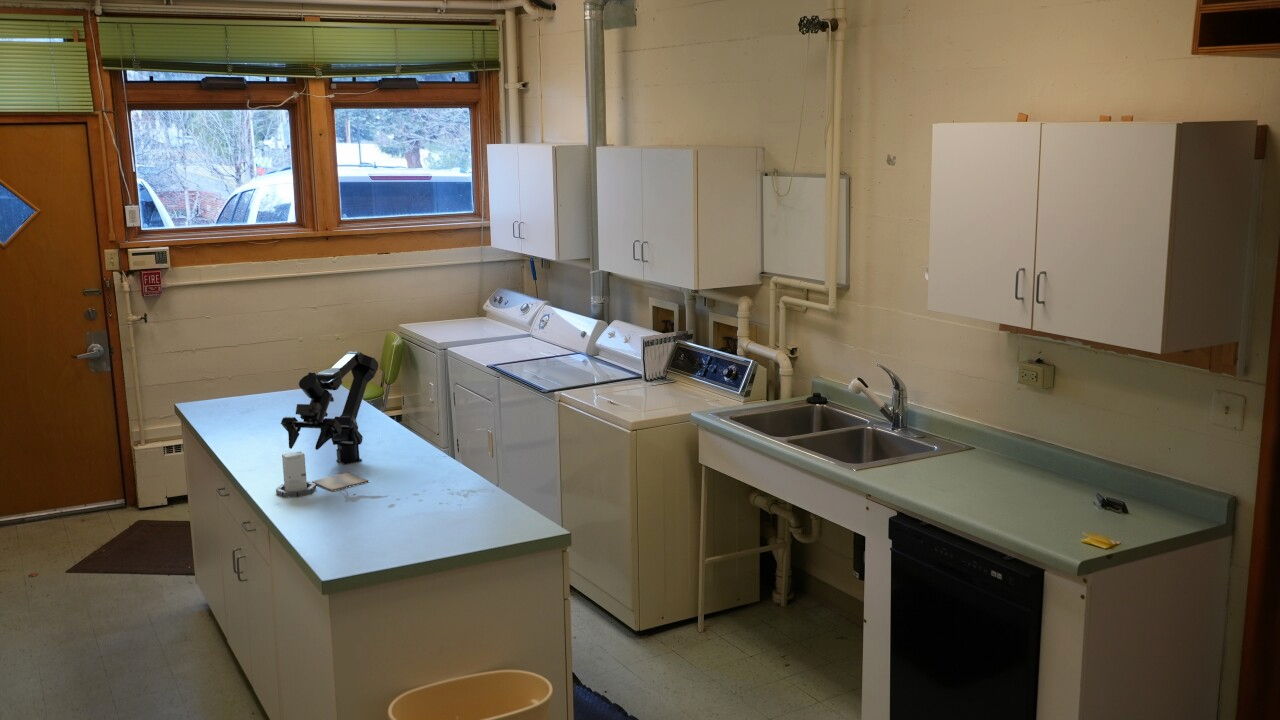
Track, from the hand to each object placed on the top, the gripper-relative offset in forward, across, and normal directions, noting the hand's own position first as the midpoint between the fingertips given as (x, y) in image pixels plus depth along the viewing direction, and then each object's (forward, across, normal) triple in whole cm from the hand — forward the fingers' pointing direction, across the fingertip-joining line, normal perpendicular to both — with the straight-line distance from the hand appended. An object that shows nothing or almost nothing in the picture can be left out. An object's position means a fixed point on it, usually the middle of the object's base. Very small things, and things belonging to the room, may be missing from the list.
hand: (303, 448), depth 348 cm
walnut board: (+5, +9, +12) cm, 16 cm away
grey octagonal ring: (+13, 0, +4) cm, 13 cm away
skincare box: (+13, 0, +5) cm, 14 cm away
